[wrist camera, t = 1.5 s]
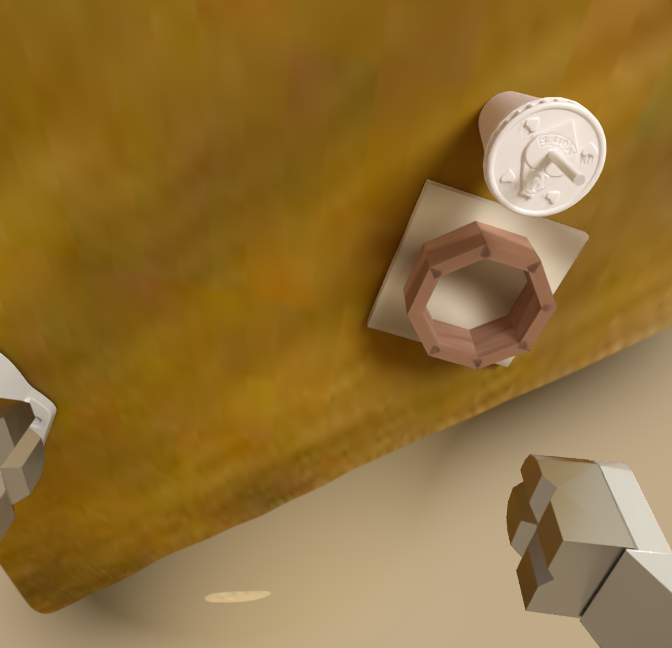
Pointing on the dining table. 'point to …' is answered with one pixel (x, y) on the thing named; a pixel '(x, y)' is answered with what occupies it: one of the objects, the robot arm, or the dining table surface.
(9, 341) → the dining table surface
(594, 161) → the smoothie
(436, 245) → the bottle stand
